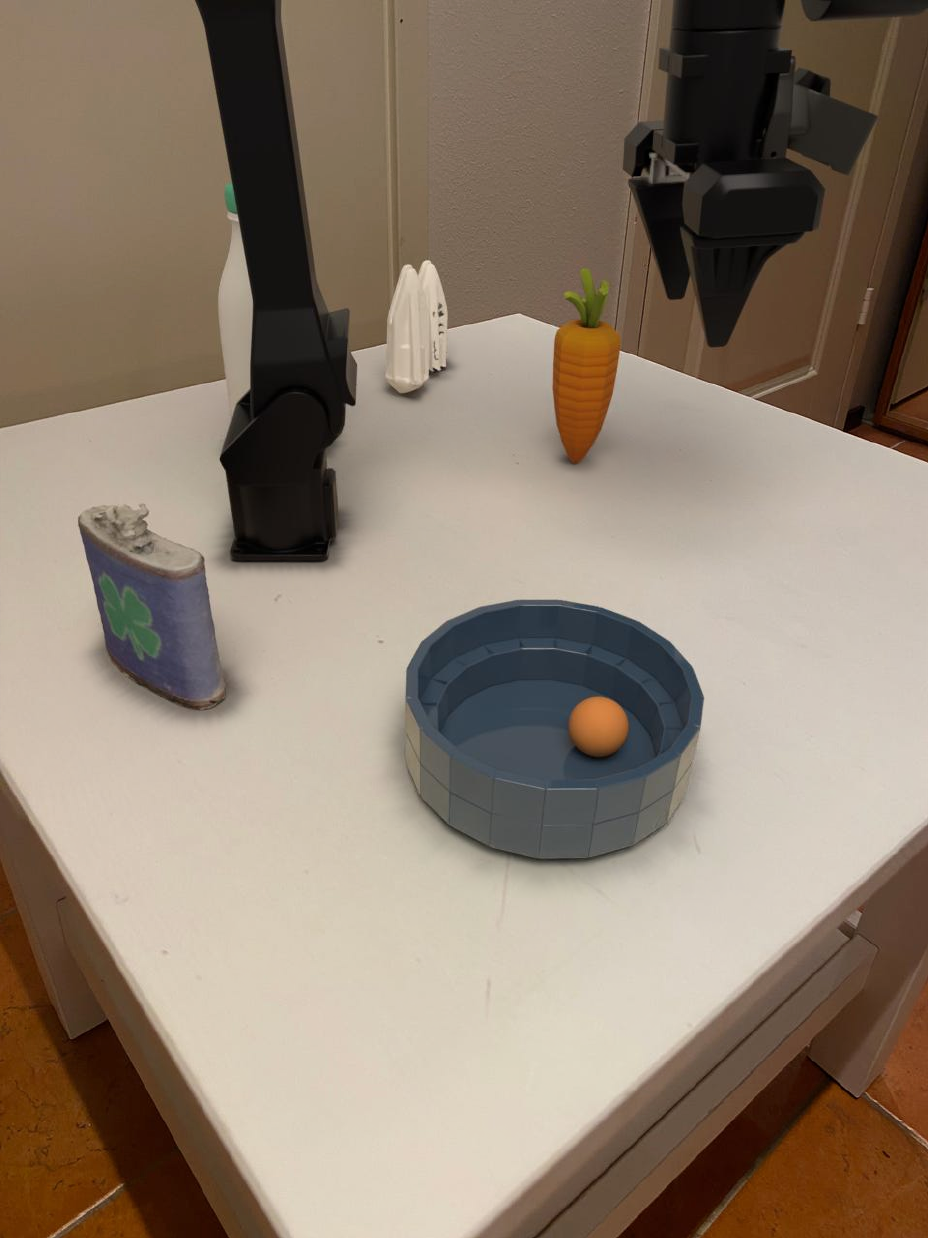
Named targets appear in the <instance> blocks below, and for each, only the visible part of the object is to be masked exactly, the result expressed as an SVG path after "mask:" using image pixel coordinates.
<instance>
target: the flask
mask: <svg viewBox="0 0 928 1238" xmlns="http://www.w3.org/2000/svg"><path fill="white" fill-rule="evenodd" d="M138 506H139V508H138V509H132V507H131V506H128V504H118V505H115V504H112V505H105V504H103V505H99V506H92V507H90V508H89V509H85V510H83V511H82V512H81V513H80V514H79V515H78V517H77V518H78V519H77V526H78V528H79V534H80V537H81V541H82V544H83V546H84V552H85V556H86V557H85V558H86V562H87V565H88V569H89V572H90V576H91V581H92V584H93V590H94V595H95V599H96V606H97V611H98V613H99V615H100V623H101V625H102V626H101V627H102V630H103V636H104V644H105V648H106V653H107V656H108V657H109V660H110V661H111V663H113V665H115V666H116V667H117V668H118V670H119V671H120V672H122V673H123V674H124V675H125V677H128V679H130V680H133V681H134V682H135V683H136V684H138V685H141V686H144V687H145V688H147V689H148V690H149V691H151V692H153V693H156V694H157V695H159V696H160V697H163V698H165V699H166V700H169V701H171V702H173V703H175V704H177V705H178V706H180V707H187V708H191V709H193V710H197V709H198V710H200V711H203V710H205V709H211V708H213V707H215V706H216V705H217V704H218V703H219V702H221V700H223V699H225V698H226V690H227V689H226V681H225V680H224V671H223V667H222V663H221V659H220V652H219V649H218V642H217V638H216V629H215V622H214V618H213V613H212V608H211V601H210V593H209V587H208V583H207V575H206V566H205V565H206V564H205V561H206V560H205V557H204V555H203V554H202V553H201V552H199V551H198V550H196V549H194V548H192V547H188V546H185V545H183V544H181V543H177V542H174V541H173V540H170V539H168V538H166V537H162V536H161V535H159V534H157V533H155V532H153V531H151V530H150V529H149V528H148V524H149V523H148V522H147V521H146V520H144V519H145V518H147V517H148V516H149V515H150V510H149V509H148V507H147V506H146V503H144V502H139V503H138ZM213 702H214V703H213Z"/></svg>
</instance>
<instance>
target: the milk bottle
mask: <svg viewBox="0 0 928 1238" xmlns="http://www.w3.org/2000/svg"><path fill="white" fill-rule="evenodd" d="M224 203H225V207H226V209H227V216H226V217H227V219H228V220H230V224H231V238H230V246H229V249H228V255H227V258H226V262H225V265H224V268H223V271H222V275H221V278H220V283H219V288H218V296H217V298H218V299H217V312H218V322H219V334H220V335H219V336H220V343H221V350H222V361H223V367H224V377H225V381H226V382H225V383H226V392H227V397H228V405H229V406H228V407H229V413H230V420H231V419H232V416H233V413H234V409H235V406H236V403H237V402H238V401H239V400H240V399H241V398H242V397H243V396H244V394H245V393H246V392H247V391H248V390H249V389H250V358H251V338H252V318H253V299H252V293H251V288H250V282H249V276H248V271H247V265H246V259H245V254H244V248H243V242H242V237H241V231H240V225H239V220H238V214H237V208H236V203H235V197H234V191H233V186H232V182H229V183H227V184H226V185H225V186H224Z"/></svg>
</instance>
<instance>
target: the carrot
mask: <svg viewBox="0 0 928 1238" xmlns="http://www.w3.org/2000/svg"><path fill="white" fill-rule="evenodd" d="M579 275H580V280H581V284H582V289H583V292H584V296H585V298H583V297H582V296H580V295H579V294H577V293H575V292H574V291H571V290H568V291H566V292H564V293H563V297H564V299H565V300H566V301H567V302H570V303H571V304H572V305H573V306H574V307H575V308H576V310H577V312H578V313H579V316H580V319H577V318H576V319H573V320H571V321H569V322H567V323H565V324H563V325H561V326H560V327H559V328H558V329H557V330H556V331H555V335H554V341H553V359H552V360H553V361H552V397H553V398H552V399H553V407H554V415H555V421H556V422H555V423H556V427H557V430H558V434H559V437H560V440H561V443H562V445H563V448H564V450H565V452H566V455H567V457H568V459H569V460H570V461H571V462H572V463H573V464H574V465H578V464H579V463H580V462H581V461H583V460H584V459H585V458H586V456H587V454H588V453H589V451H590V450H591V449H592V447H593V445H594V444H595V443H596V440H597V438H598V437H599V435H600V433H601V431H602V429H603V426H604V424H605V420H606V417H607V415H608V411H609V407H610V404H611V401H612V397H613V394H614V389H615V383H616V379H617V372H618V365H619V359H620V353H621V345H622V344H621V336H620V334H619V333H618V332H617V330H616V329H615V328H614V327H613V326H612V325H611V324H610V323H608V322H606V321H603V320H601V317H602V314H603V312H604V309H605V306H606V304H607V300H608V297H609V292H610V291H609V290H610V283H609V282H608V281H607V280H606V279H601V280H600V285H599V289H598V291H597V292H596V288H595V283H594V278H593V276H592V273H591V269H590V268H585V267H584V268H582V269H581V270H580V271H579Z"/></svg>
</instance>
